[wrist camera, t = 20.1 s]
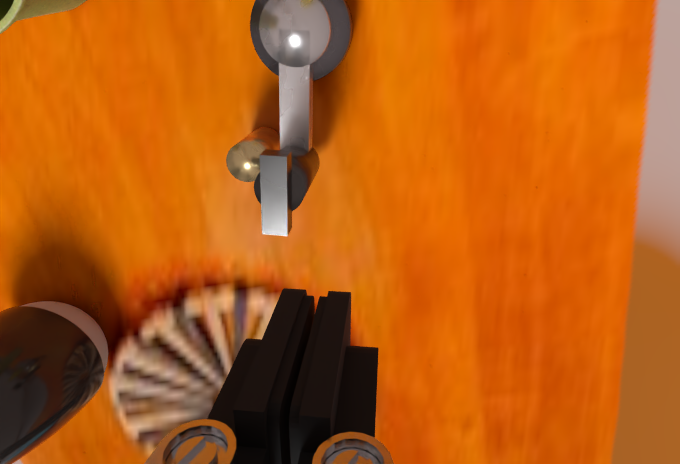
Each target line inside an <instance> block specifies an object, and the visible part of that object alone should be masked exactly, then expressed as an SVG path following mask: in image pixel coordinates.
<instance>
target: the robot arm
mask: <svg viewBox="0 0 680 464" xmlns="http://www.w3.org/2000/svg"><path fill="white" fill-rule="evenodd" d="M350 329H351V292H336V291H329V292H328V296H327V297H322V296H320V298H319V301H318V305H317V309H316V312H315V306H314V296H307V293H306V290H302V289H285V288H284V289H283V290H282V293H281V295H280V297H279V300H278V302H277V305H276V307H275V309H274V312H273V314H272V317H271V319H270V321H269V324H268V326H267V329H266V331H265V333H264V336H263V338H262V340H260V339H246V340H245V341H244V343H243V344H242V347H241V349H240V351H239V353H238V355H237V357H236V359H235V361H234V364H233V366H232V368H231V370H230V372H229V374H228V376H227V378H226V381H225V383H224V385H223V387H222V389H221V391H220V393H219V395H218V397H217V400H216V402H215V404H214V406H213V408H212V410H211V412H210V414H209V417H208V419H201V420H195V421H191V422H188V423H186V424H183V425H181V426H179V427H177V428H176V429H174V430H173V431H171V432H170V433H169V434H168V435H167V436H166V437H165V438H164V439H163V440H162V441H161V442H160V443H159V445H158V446H157V447H156V449H155V450H154V451H153V453H152V454H151V455H150V457H149V458H148V459H147V461H146V462H145V463H144V464H394V462H393V460H392V457H391V454H390V452H389V451H388V450H387V448H386V447H385V446H384V445H383V443H381V442H380V441H378V440H377V439H375V416H376V392H377V369H378V348H374V347H360V346H350Z"/></svg>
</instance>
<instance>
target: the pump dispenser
mask: <svg viewBox="0 0 680 464" xmlns="http://www.w3.org/2000/svg"><path fill="white" fill-rule="evenodd" d="M107 361H108V345H107V341H106V338H105V335H104V333H103V331H102V329H101V328H100V326H99V325H98V324H97V323H96V321H95V320H94V319H93V318H92V317H90V316H89V315H88V314H87V313H85V312H84V311H82V310H80V309H79V308H76V307H74V306H72V305H69V304H66V303H61V302H55V301H40V302H33V303H29V304H25V305H22V306H19V307H12V308H9V309H6V310H3V311H1V312H0V464H12V463H14V462H16V461H17V460H19V459H20V458H22V457H23V456H25V455H26V454H28V453H29V452H31V451H32V450H34V449H35V448H36V447H38V446H39V445H40V444H42V443H43V442H44V441H46V440H47V439H48V438H50V437H51V436H52V435H53V434H55V433H56V432H57V431H58V430H60V429H61V428H62V427H63V426H64V425H65V424H66V423H68V422H69V421H70V420H71V419H72V418H73V417H74V416H75V415H76V414H77V413H78V412H79V411H81V410H82V409H83V408H84V407H85V406H86V405H87V404H88V403H89V401H90V400H91V399H92V398H93V397H94V396H95V394H96V393H97V392H98V390H99V389H100V387H101V385H102V382H103V378H104V372H105V369H106V366H107Z"/></svg>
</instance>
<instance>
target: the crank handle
mask: <svg viewBox="0 0 680 464" xmlns="http://www.w3.org/2000/svg"><path fill="white" fill-rule="evenodd" d="M259 31H260V37H261V41H262V43H263V45H264V48H265V49H266V51H267V52H268V53H269V55H270V56H271V57H272V58H273V59H274V60H276V61H277V62H279V107H280V150H270V149H265V150H264V151H263V152H262V153H261V154H260V172H259V174H258V175H257V177H256V179H255V183H254V191H255V195H256V197H257V199H258V201H259V202H260V204H261V214H262V234H267V235H280V236H288V234H289V232H290V230H291V228H292V211H293V210H295V209H296V208H297V207H298V206H299V205H300V204H301V202H302V200H303V198H304V196H305V195H306V193H307V191H308V189H309V187H310V185H311V183H312V181H313V179H314V177H315V175H316V173H317V171H318V169H319V157H318V154H317V152H316V150H315V149H314V148H313V147H312V125H313V62H315V61H317V60H318V59H319V58H321V57H322V56H323V55H324V53H325V52H326V51H327V49H328V47H329V45H330V42H331V38H332V21H331V17H330V14H329V12H328V10H327V8H326V7H325V5H324V4H323V3H322V2H321V1H320V0H269V1H268V2H267V3H266V5H265V6H264V8H263V10H262V13H261V16H260V22H259Z"/></svg>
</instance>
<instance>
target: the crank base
mask: <svg viewBox="0 0 680 464" xmlns="http://www.w3.org/2000/svg"><path fill="white" fill-rule="evenodd" d="M268 1H269V0H256V1H255V3H254V6H253V9H252V13H251V21H250V30H251V37H252V41H253V44H254V47H255V50H256V52H257V54H258V56H259V57H260V59H261V60H262V62H263V63H264V64H265V65H266V66H267V67H268V68H269V69H270V70H271V71H272V72H274V73H275V74H276V75H278V76H279V62H277V61H276V60H274V59H273V58H272V57H271V56H270V55H269V53H268V52H267V51H266V49H265V48H264V45H263V43H262V41H261V37H260V31H259V22H260V16H261V13H262V10H263V8H264V6H265V5H266V3H267V2H268ZM320 1H321V2H322V3H323V4H324V5H325V7H326V8H327V10H328V12H329V14H330V17H331V21H332V38H331V42H330V45H329V47H328V49H327V51H326V52H325V53H324V55H323V56H322V57H321V58H319V59H318V60H317V61H315V62H313V81H314V80H317V79H320V78H322V77H324V76H325V75H327V74H328V73H330V72H331V71H333V70H334V69H335V68H336V67H337V66H338V65H339V64H340V63H341V62H342V61H343V59H344V57H345V56H346V54H347V52H348V50H349V47H350V44H351V40H352V32H353V26H352V18H351V13H350V10H349V7H348V5H347V3H346V1H345V0H320ZM265 149H270V150H280V135H279V133H278V132H277V131H276V130H274V129H272V128H270V127H260V128H258V129H256V130H255V131H253V132H252V133H251V134H249V135H248V136H247V137H245V138H244V139H243V140H241V141H240V142H239V143H237V144H236V145H235V146H233V147H232V148H231V149H230V150H229V152H228V154H227V159H226V161H227V167H228V169H229V171H230V173H231V174H232V175H233V176H234V177H235V178H237V179H239V180H241V181H244V182H252V181H255V179H256V177H257V175H258V174H259V172H260V154H261V153H262V152H263V151H264V150H265Z"/></svg>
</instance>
